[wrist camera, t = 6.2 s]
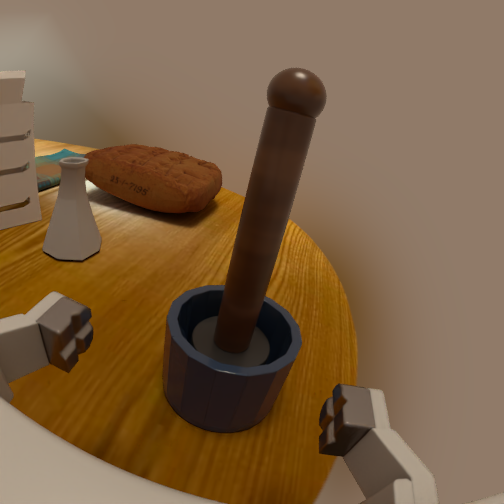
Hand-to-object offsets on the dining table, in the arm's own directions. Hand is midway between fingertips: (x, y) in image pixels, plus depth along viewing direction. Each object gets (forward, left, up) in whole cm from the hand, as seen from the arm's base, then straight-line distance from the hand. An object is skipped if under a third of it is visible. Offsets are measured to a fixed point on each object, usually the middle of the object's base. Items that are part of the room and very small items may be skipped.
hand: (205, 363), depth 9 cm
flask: (+26, +8, -10) cm, 29 cm away
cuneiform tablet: (+44, -3, -10) cm, 46 cm away
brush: (+6, -4, -10) cm, 12 cm away
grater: (+35, +21, -10) cm, 42 cm away
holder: (+6, -4, -10) cm, 13 cm away
